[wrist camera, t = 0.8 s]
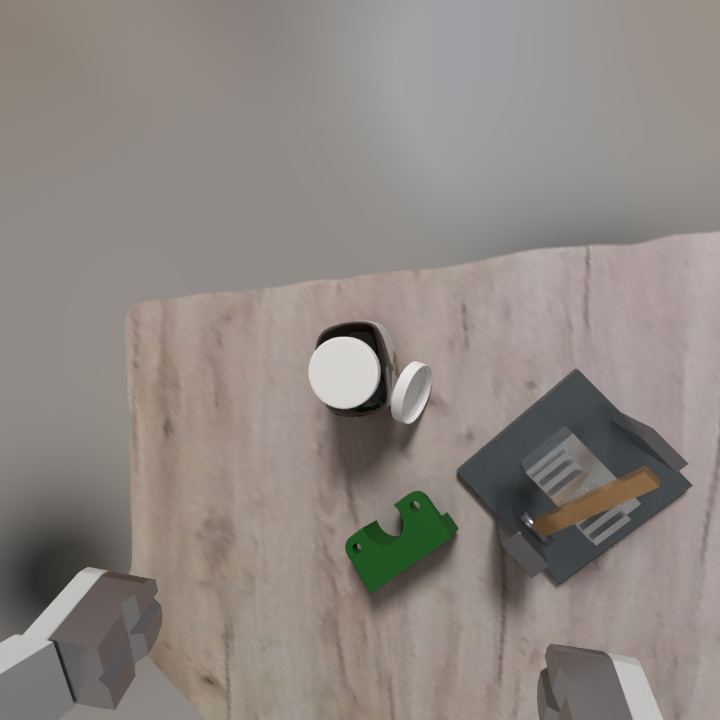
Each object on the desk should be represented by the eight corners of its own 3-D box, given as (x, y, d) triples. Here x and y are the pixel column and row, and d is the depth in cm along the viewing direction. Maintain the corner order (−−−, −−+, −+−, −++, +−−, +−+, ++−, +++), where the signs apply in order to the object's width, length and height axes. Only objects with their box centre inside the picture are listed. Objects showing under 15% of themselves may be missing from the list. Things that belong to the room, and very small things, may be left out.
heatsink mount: (687, 481, 48) (742, 518, 38) (557, 577, 51) (579, 633, 42) (575, 368, 49) (601, 377, 40) (457, 468, 53) (455, 498, 43)
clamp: (423, 487, 58) (430, 478, 50) (452, 529, 56) (465, 527, 48) (343, 544, 56) (337, 544, 48) (371, 589, 54) (369, 597, 46)
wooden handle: (669, 488, 38) (668, 497, 37) (545, 540, 46) (542, 548, 45) (636, 455, 38) (635, 463, 37) (519, 513, 46) (516, 520, 46)
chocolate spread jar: (330, 328, 55) (295, 326, 44) (423, 312, 53) (412, 306, 41) (345, 426, 55) (315, 450, 44) (439, 415, 53) (433, 437, 42)
